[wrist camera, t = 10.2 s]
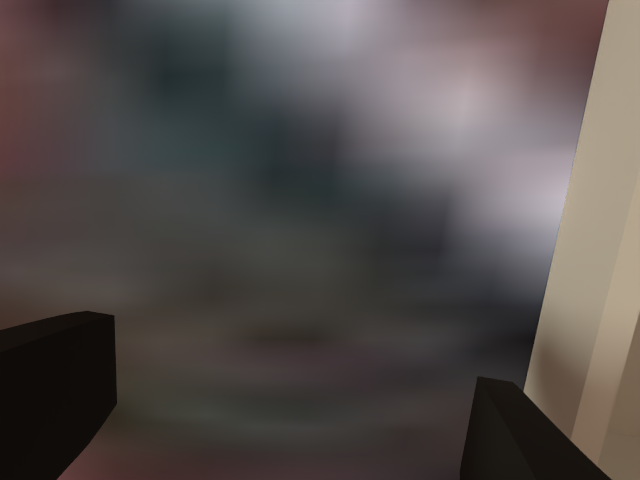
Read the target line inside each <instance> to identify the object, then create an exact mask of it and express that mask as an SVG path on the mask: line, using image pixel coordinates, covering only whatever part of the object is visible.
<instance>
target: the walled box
mask: <svg viewBox="0 0 640 480" xmlns="http://www.w3.org/2000/svg"><path fill="white" fill-rule="evenodd" d="M524 393H525V394H526V395H527V396H528V397H529V398H530V399H531V400H532V401H533V402H534V404H535V405H536V406H537V407H538V408H539V409H540V410H541V411H542V412H543V413H544V414H545V415H546V416H547V417H548V418H549V419H550V420H551V421H552V422H553V423H554V424H555V425H556V426H557V427H558V428H559V429H560V430H561V431H562V432H563V433H564V434H565V435H566V436H567V437H568V438H569V439H570V440H571V441H572V442H573V443H574V444H575V445H576V446H577V447H578V448H579V449H580V450H581V451H582V452H583V453H584V454H585V455H586V456H587V457H588V458H589V459H590V460H591V461H592V462H593V463H594V464H595V465H596V466H598V467H599V468H600V469H601V470H602V471H603V472H604V473H605V474H606V475H607V476H608V477H610V478H611V479H612V480H640V0H609V3H608V8H607V13H606V17H605V22H604V26H603V31H602V35H601V40H600V45H599V49H598V54H597V58H596V63H595V67H594V72H593V77H592V81H591V86H590V90H589V95H588V99H587V104H586V108H585V113H584V118H583V122H582V127H581V131H580V136H579V140H578V145H577V150H576V154H575V159H574V163H573V168H572V172H571V177H570V182H569V186H568V191H567V195H566V200H565V204H564V209H563V214H562V218H561V223H560V227H559V232H558V236H557V241H556V246H555V250H554V255H553V259H552V264H551V268H550V273H549V278H548V282H547V287H546V291H545V296H544V300H543V305H542V309H541V314H540V319H539V323H538V328H537V332H536V337H535V341H534V346H533V351H532V355H531V360H530V364H529V369H528V373H527V378H526V383H525V387H524Z"/></svg>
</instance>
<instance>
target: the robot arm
mask: <svg viewBox="0 0 640 480" xmlns="http://www.w3.org/2000/svg"><path fill="white" fill-rule="evenodd" d="M116 404H117V388H116V355H115V322H114V315H108V314H102V313H96V312H91V311H83V312H75V313H69V314H64V315H59V316H55V317H51V318H46V319H42V320H38V321H34V322H30V323H26V324H22V325H18V326H15V327H11V328H7V329H3V330H0V480H56V479H57V478H58V477H59V476H60V475H61V474H62V473H63V472H64V471H65V470H66V469H67V467H68V466H69V465H70V464H71V463H72V462H73V461H74V460H75V459H76V458H77V457H78V455H79V454H80V453H81V452H82V451H83V450H84V449H85V448H86V446H87V445H88V444H89V443H90V441H91V440H92V439H93V437H94V436H95V435H96V433H97V432H98V430H99V429H100V428H101V426H102V425H103V423H104V422H105V420H106V419H107V417H108V416H109V415H110V413H111V412H112V410H113V409H114V407H115V406H116ZM460 480H612V479H611V478H610V477H608V476H607V475H606V474H605V473H604V472H603V471H602V470H601V469H600V468H599V467H598V466H596V465H595V464H594V463H593V462H592V461H591V460H590V459H589V458H588V457H587V456H586V455H585V454H584V453H583V452H582V451H581V450H580V449H579V448H578V447H577V446H576V445H575V444H574V443H573V442H572V441H571V440H570V439H569V438H568V437H567V436H566V435H565V434H564V433H563V432H562V431H561V430H560V429H559V428H558V427H557V426H556V425H555V424H554V423H553V422H552V421H551V420H550V419H549V418H548V417H547V416H546V415H545V414H544V413H543V412H542V411H541V410H540V409H539V408H538V407H537V406H536V405H535V404H534V402H533V401H532V400H531V399H530V398H529V397H528V396H527V395H526V394H525V393H524V392H523V391H522V390H521V389H520V388H519V387H518V386H517V385H515V384H514V383H513V382H509V381H503V380H497V379H491V378H485V377H479V376H478V378H477V383H476V388H475V394H474V399H473V404H472V409H471V415H470V420H469V425H468V431H467V436H466V441H465V446H464V452H463V457H462V462H461V468H460Z"/></svg>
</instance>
